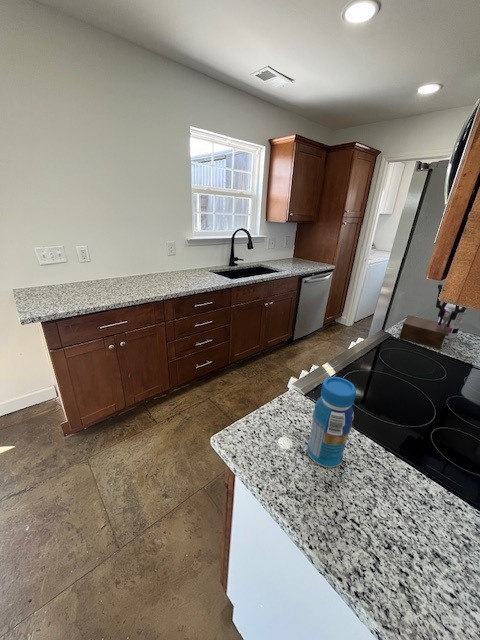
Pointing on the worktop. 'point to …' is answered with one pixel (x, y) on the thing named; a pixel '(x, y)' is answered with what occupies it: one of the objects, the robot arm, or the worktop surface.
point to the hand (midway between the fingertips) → (443, 325)
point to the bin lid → (429, 324)
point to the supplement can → (453, 321)
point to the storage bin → (422, 337)
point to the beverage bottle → (331, 422)
